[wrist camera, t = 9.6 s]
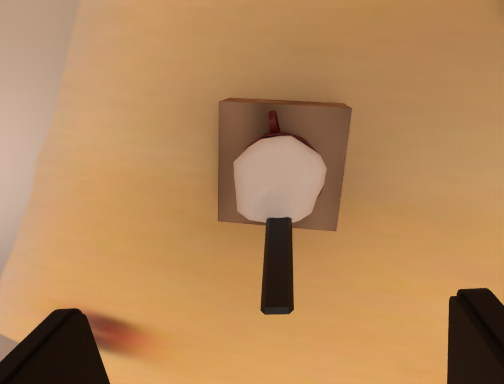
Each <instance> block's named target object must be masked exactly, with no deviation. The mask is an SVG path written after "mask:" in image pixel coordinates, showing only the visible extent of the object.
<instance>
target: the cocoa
mask: <svg viewBox="0 0 504 384" xmlns="http://www.w3.org/2000/svg"><path fill="white" fill-rule="evenodd" d="M268 117H269V128H270V133H268V134H264V135H263V136H261V137H260V138H258V139H257V140H255V141H254V142H252V143H251V144H249V145H248V146H247V147H246V148H245V150H244V152H243V153H242V154H241V155H240V156H239V157H238V158H237V159H236V160H235V161H234V180H235V189H236V201H237V211H238V212H239V213H240V214H242V215H243V216H244V217H246V218H247V219H248V220H252V221H258V222H264V223H266V234H265V249H264V265H263V280H262V295H261V311H262V312H263V313H264V314H265V315H269V314H290V313H291V312H292V311H293V310H294V299H293V250H292V223H293V222H297V221H300V220H301V219H303V218H304V217H306V216H308V215H309V214H311V213H312V210H313V207H314V204H315V202H316V200H317V198H318V197H319V196H320V194H321V193H322V188H323V185H324V181H325V176H326V170H327V168H326V166H325V164H324V162H323V159H322V157H321V155H320V154H318V152H317V151H316V150H315V149H314V148H313V147H312V146H311V145H310V144H309V143H308V142H307V141H306V140H305V139H304V138H303V137H300V136H297V135H294V134H291V133H288V132H285V131H284V132H281V131H280V127H279V122H278V118H277V113H276V110H272V111H269V113H268Z"/></svg>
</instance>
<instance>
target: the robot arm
mask: <svg viewBox="0 0 504 384" xmlns="http://www.w3.org/2000/svg"><path fill="white" fill-rule="evenodd" d="M0 384H110V382H109V379H108V376H107V374H106V371H105V368H104V365H103V362H102V359H101V356H100V354H99V351H98V348H97V345H96V342H95V339H94V336H93V333H92V331H91V328H90V325H89V322H88V319H87V317H86V315H85V314H82V312H81V311H80V310H79V309H76V308H73V309H57V310H55V311H53V312H52V313H51V314H50V315H49V316H48V317H47V318H45V319H44V320H43V321H42V322H41V323H40V324H39V325H38V326H37V327H36V328H35V329H34V330H33V331H32V332H31V333H30V334H29V335H28V336H27V337H26V338H25V339H24V340H23V341H22V342H20V343H19V344H18V345H17V346H16V347H15V348H14V349H13V350H12V351H11V352H10V353H9V354H8V355H7V356H6V357H5V358H4V359H3V360H2V361H1V362H0ZM447 384H504V305H503V304H502V303H501V302H500V301H499V300H498V299H497V297H496V296H495V295H494V294H493V293H492V292H491V291H490V290H489V289H487V288H477V289H460V290H458V292H457V296H451V297H450V299H449V328H448V373H447Z"/></svg>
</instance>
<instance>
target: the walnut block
mask: <svg viewBox="0 0 504 384" xmlns="http://www.w3.org/2000/svg"><path fill="white" fill-rule="evenodd" d="M272 110H276V113H277V118H278V122H279V127H280V131H281V132H284V131H285V132H288V133H291V134H294V135H297V136H300V137H303V138H304V139H305V140H306V141H307V142H308V143H309V144H310V145H311V146H312V147H313V148H314V149H315V150H316V151H317V152H318V154H320V155H321V157H322V159H323V162H324V164H325V166H326V168H327V170H326V176H325V181H324V185H323V188H322V193H321V194H320V196H319V197H318V198H317V200H316V202H315V204H314V207H313V210H312V213H311V214H309V215H308V216H306V217H304V218H303V219H301V220H300V221H297V222H293V223H292V228H303V229H315V230H327V231H336V229H337V221H338V213H339V205H340V197H341V189H342V182H343V174H344V166H345V158H346V150H347V142H348V135H349V127H350V119H351V111H352V108H351V107H349V106H347V105H345V104H342V103H321V102H301V101H281V100H260V99H240V98H228V99H225V100H222V101H219V169H218V221H221V222H233V223H245V224H256V225H266V223H264V222H258V221H252V220H248V219H247V218H246V217H244V216H243V215H242V214H240V213H239V212H238V211H237V201H236V189H235V180H234V161H235V160H236V159H237V158H238V157H239V156H240V155H241V154H242V153H243V152H244V150H245V148H246V147H247V146H248V145H249V144H251V143H252V142H254V141H255V140H257V139H258V138H260V137H261V136H263V135H264V134H268V133H270V128H269V117H268V113H269V111H272Z"/></svg>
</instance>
